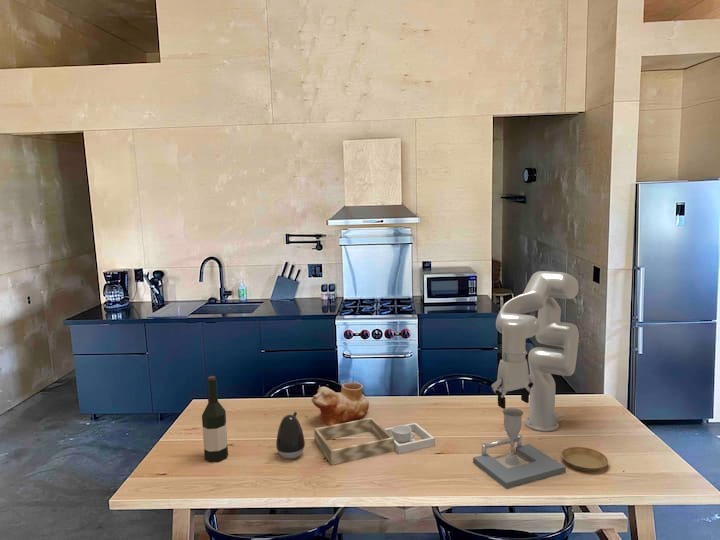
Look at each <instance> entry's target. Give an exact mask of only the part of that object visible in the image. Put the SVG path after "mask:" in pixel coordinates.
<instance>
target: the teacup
mask: <svg viewBox="0 0 720 540" xmlns="http://www.w3.org/2000/svg"><path fill="white" fill-rule="evenodd" d="M405 425H406V424H399V425H395V426H393V428H392V434H393V436H392V437H393V438H394V440H395V441H397V442H398V443H399V444H404V443H408V442H413V441H416V439H415V436H416V434H415V432H414V431H413V432H411V428H410V427H409V426H405ZM412 435H413V436H412Z"/></svg>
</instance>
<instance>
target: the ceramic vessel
mask: <svg viewBox="0 0 720 540" xmlns="http://www.w3.org/2000/svg"><path fill="white" fill-rule="evenodd" d="M363 388H364V385H363V384H362V383H360V382H346V383H345V382H344V383H342V385H341V389H340V392H336V391H334V390H333V389H331V388H329V387H327V386H320V387H319V388H318V389H317V393H316V394H314V395H313V396H312V398H311V403H312V404H313V405H314V406H315V407H316V408H318V409H319V411H320V412H319V415H318V420H320V421H321V422H322V423H323V424H324V425H326V426H331V425H336V424H341V423H347V422H352V421H357V420H362V419H364V417H365V415H366V414H367V411H368V410H369V408H370V407H369V406H370V402H369V400H368V399H367V397H366V396H365V395H364V394H363Z"/></svg>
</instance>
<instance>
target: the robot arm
mask: <svg viewBox="0 0 720 540" xmlns="http://www.w3.org/2000/svg"><path fill="white" fill-rule="evenodd" d="M579 289H580V288H579V283H578V280H577V278H576V277H574V276H573V275H571V274H569V273H566V272H562V271H549V270H548V271H547V270H546V271H545V270H544V271H543V270H539V271H536V272H534V273H533V274H532V275H531V276H530V279H529V281H528V282H527V284H526V287H525V289H524V291H523V293H522V294H519V295H516V296H514V297H513V298H511V299H508V301H506V302H505V303H504V304H503V305H502V307H501V308H500V310H499V312H498V314H497V317H496V318H495V319H496V320H495V328H496V330H497V331H498V332H499V333H500V334H501V335H502V336H501V342H502V343H501V348H502V349H501V350H502V351H501V357H502V358H501V359H500V360H499V364H498V368H497V369H498V370H497V377H496V378H497V379H496V381H495V382H493V383H492V384H491V385H490V386H491V389H492V391H493V393H494V394H495V395H496V396H497V406H498V407H499V408H501V409H503V410H504V409H506V397H505V396H506V394H507V393H508V392H512V391H516V390H520V391H521V392H520V394H521V395H520V396H521V397H520V400H521V401H522V402H524V403H525V404H529V409H528V410H529V415H528V416H529V417H527V418H525V420H524V423H525V425H526V426H527V427H528V428H529V429H531V430H534V431H538V432H539V431H540V432H552V431H556V430H558V429H559V426H560V425H559V422H558V421H557V420H559V419H563V418H564V417H565V414H564V413H563V412H559V413H557V412H556V411H555V409H556V381H555V379H554V377H553V375H557V376H564V377H570V376H572V375H573V374H574V373H575V370H576V365H577V356H578V348H579V339H580V338H579V337H580V335H579V334H580V333H579V329H578V327H577V325H576V324H574V323H570V322H564V321H563V322H562V321H561V317H562V316H561V314H562V308H561V306H560V305H559V303H558V302H557V300H556V299H566V300H568V299H569V300H572V299H574V298H576V297H577V295H578V294H579ZM536 311H537V317H536V316H534V315H531V314H527V313H532V312H536ZM534 336H535V341H536V342H538V344H542V345H548V346H555V347H561V348H563V349H556V348H549V347H543V346H542V347H540V346H539V347H533V348H531V349H530V350H529V352H528V351H527V350H526V341H527V339H529V338H530V339H531V338H533V337H534ZM526 355H528V356H527V358H526Z"/></svg>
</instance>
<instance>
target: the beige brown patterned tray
mask: <svg viewBox="0 0 720 540" xmlns="http://www.w3.org/2000/svg"><path fill="white" fill-rule="evenodd" d="M385 429H386V428H384V427H383V426H382V425H380V424H379V423H378V422H377V421H376V420H375V419H374V418H373V417H369V418H362V419H360V420H355V421H351V422H347V423H341V424H336V425H331V426H328V425H326V426H322V427H316V428H314V429H313V436H314V437H313V438H314V443H315V444H316V446H317V447H318V448H319V449H320V451H321V452H322V454H323V456H325V458H326V459H327V460H328V462H329V463H330V465H331V466H334V465H340V464H342V463H343V464H344V463H349V462H353V461H356V460H362V459H366V458H370V457H374V456H379V455H384V454H388V453H392V452H395V450H394V438H393V437H392V436H391V435H390V434H389V433H388V432H387V431H386V430H385ZM368 432H371V433H372V434H373V436H375V437H376V438H377V439H378V440H373V441H368V442H363V443H359V444H358V443H357V444H353V445H350V446H345V447H340V448H335V449H334V448H332V446H331V445H330V444H329V442H328V441H329V440H334V439H338V438H339V439H340V438H342V437H349V436H353V435H359V434H362V433H363V434H364V433H368Z"/></svg>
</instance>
